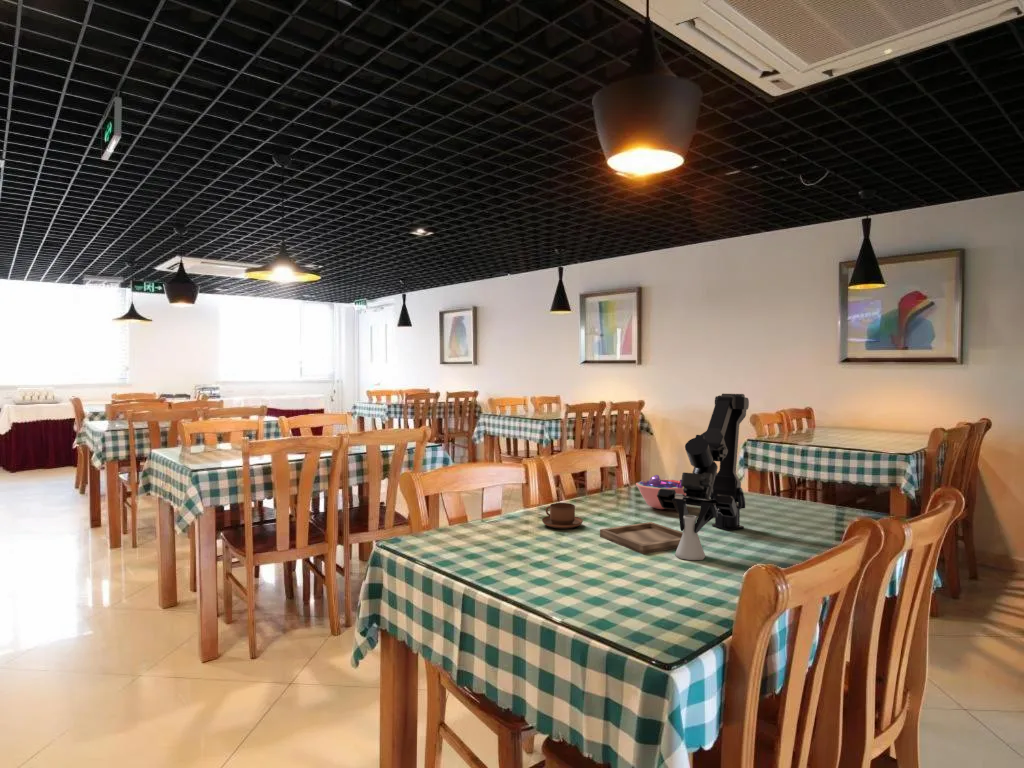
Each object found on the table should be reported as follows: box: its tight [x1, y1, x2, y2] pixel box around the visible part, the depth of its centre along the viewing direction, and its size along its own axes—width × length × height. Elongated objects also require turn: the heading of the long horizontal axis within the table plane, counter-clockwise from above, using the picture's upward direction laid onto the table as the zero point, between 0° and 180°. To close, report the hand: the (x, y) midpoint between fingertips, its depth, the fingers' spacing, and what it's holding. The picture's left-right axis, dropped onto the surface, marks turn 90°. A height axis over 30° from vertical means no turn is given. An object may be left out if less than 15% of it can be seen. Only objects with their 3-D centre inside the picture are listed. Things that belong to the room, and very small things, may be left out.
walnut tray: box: [599, 521, 683, 555], centre depth 162 cm, size 18×18×2 cm
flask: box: [674, 514, 706, 561], centre depth 148 cm, size 7×7×10 cm
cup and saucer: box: [541, 502, 584, 530], centre depth 178 cm, size 12×12×6 cm
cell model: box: [635, 474, 686, 510], centre depth 200 cm, size 17×20×11 cm
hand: (688, 531), depth 147 cm, fingers open, 3 cm apart
